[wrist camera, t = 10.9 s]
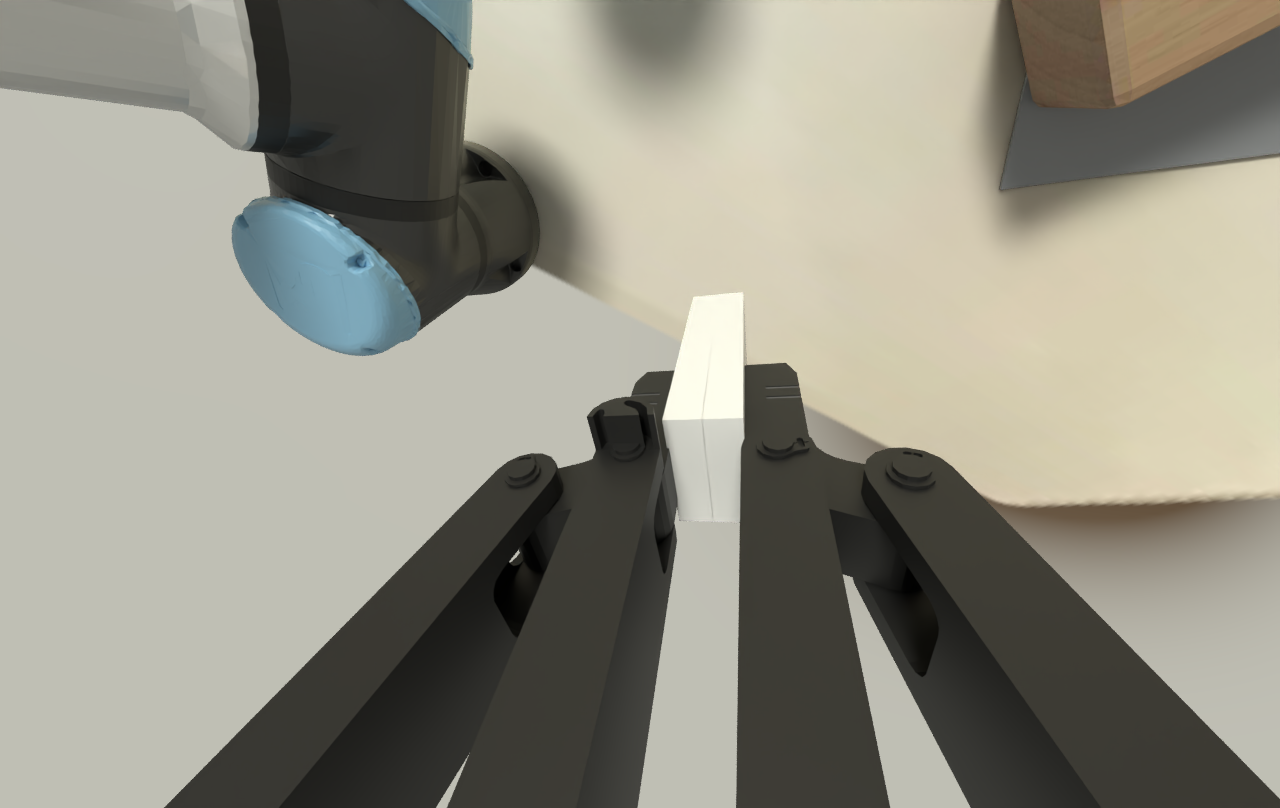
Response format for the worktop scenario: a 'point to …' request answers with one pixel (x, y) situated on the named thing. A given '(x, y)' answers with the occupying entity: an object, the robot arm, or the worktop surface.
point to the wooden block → (1127, 44)
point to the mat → (1156, 123)
